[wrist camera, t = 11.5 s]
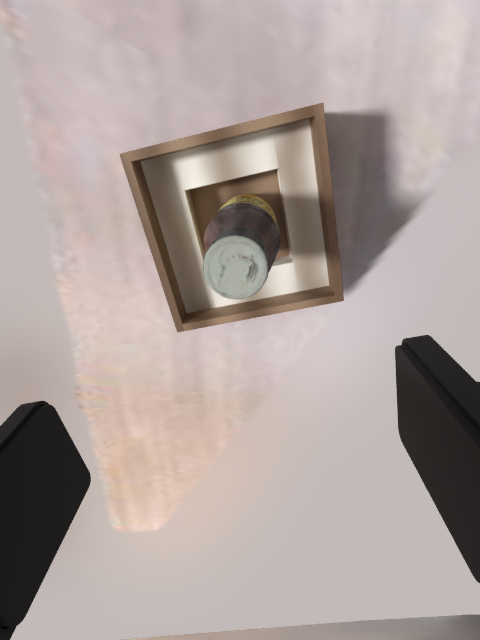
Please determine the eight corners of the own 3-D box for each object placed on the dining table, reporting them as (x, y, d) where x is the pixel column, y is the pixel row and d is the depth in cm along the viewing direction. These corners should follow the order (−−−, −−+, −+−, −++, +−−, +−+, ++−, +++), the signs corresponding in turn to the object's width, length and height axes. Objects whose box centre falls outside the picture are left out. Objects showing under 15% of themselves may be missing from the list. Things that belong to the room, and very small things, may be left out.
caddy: (309, 112, 35) (323, 102, 29) (329, 279, 43) (343, 300, 36) (141, 155, 37) (119, 154, 31) (187, 307, 45) (177, 332, 38)
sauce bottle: (286, 220, 39) (319, 273, 21) (247, 260, 41) (247, 340, 23) (243, 177, 37) (237, 194, 19) (204, 221, 39) (167, 274, 21)
